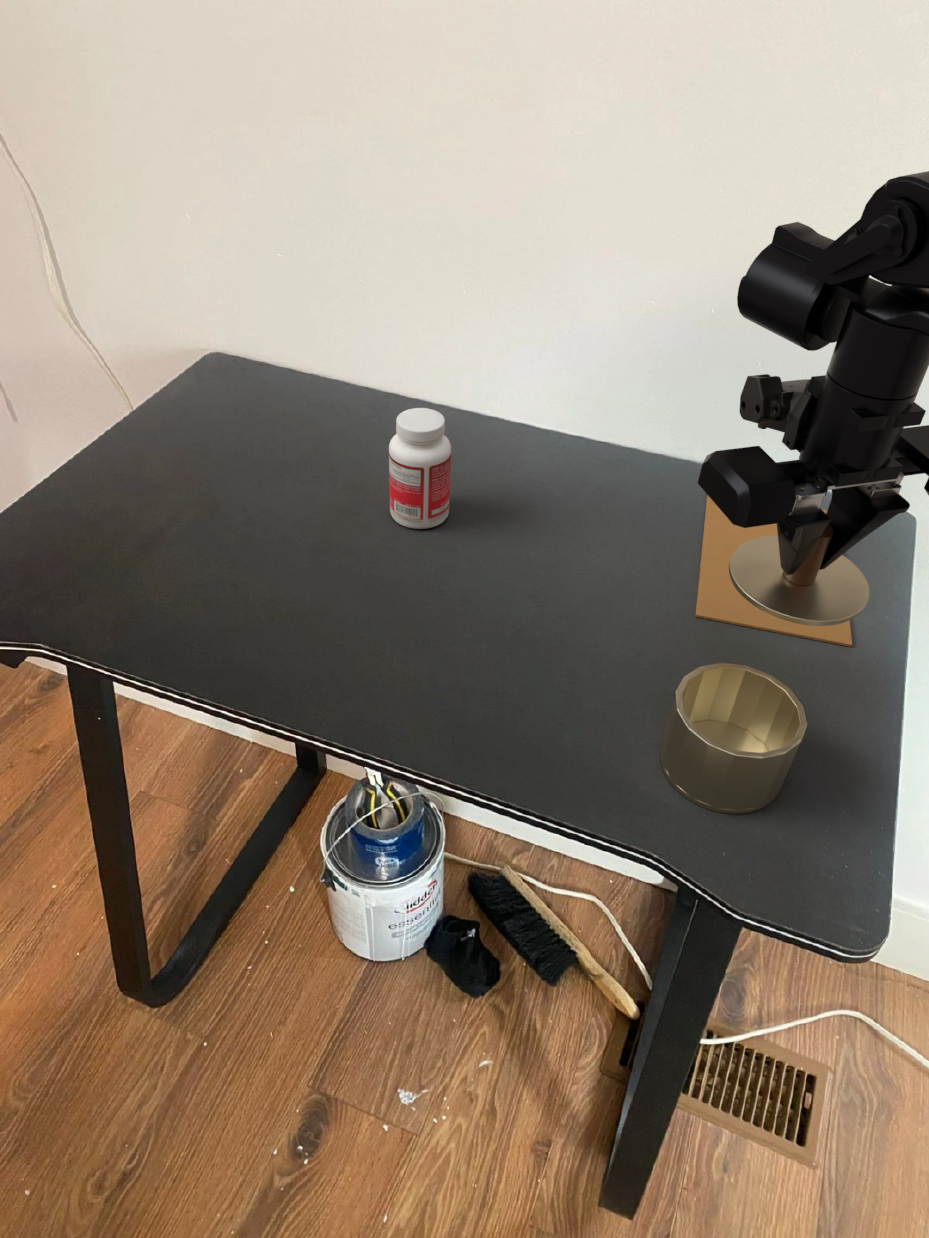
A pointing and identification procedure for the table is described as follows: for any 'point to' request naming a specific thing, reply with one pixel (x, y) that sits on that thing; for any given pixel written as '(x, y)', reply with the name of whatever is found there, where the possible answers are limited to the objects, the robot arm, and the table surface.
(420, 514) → the pill bottle
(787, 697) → the pot
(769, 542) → the lid
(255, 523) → the table surface
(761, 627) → the mat
